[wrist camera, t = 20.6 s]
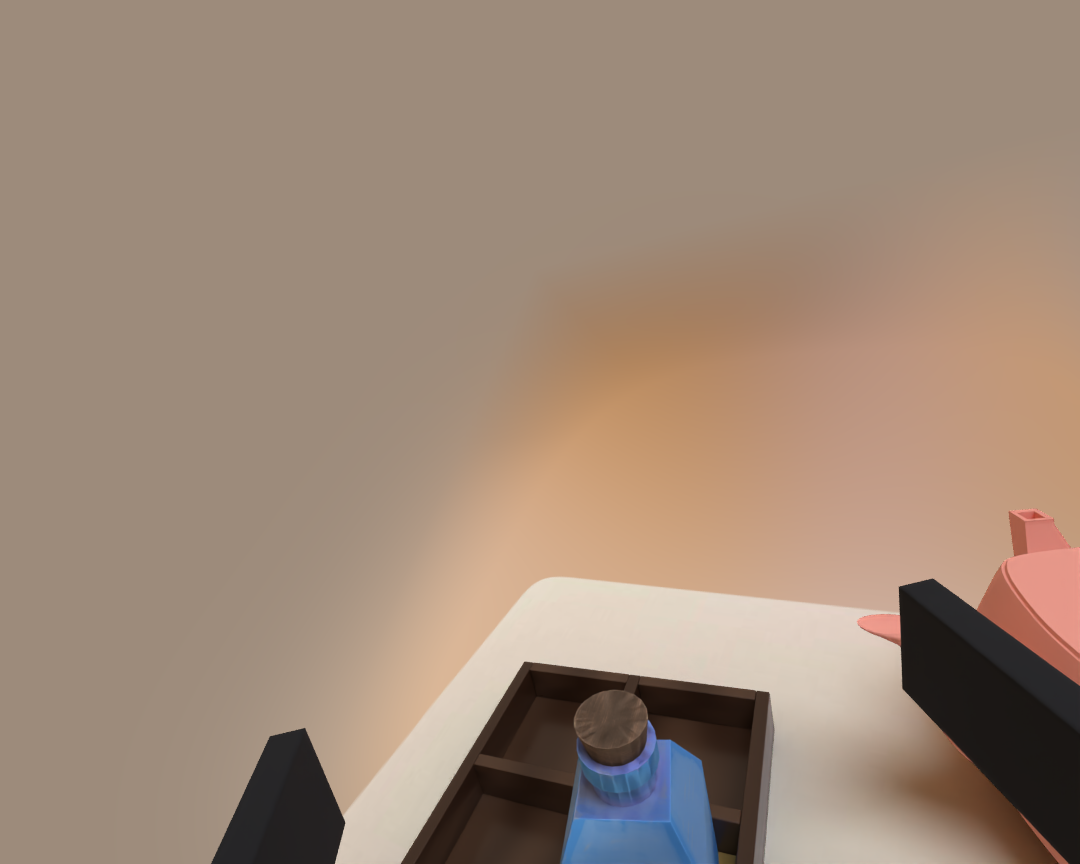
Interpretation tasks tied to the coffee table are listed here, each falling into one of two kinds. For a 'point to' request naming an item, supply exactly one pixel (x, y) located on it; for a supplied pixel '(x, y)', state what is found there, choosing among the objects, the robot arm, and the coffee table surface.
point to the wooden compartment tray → (551, 759)
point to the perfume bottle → (634, 791)
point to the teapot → (1027, 601)
